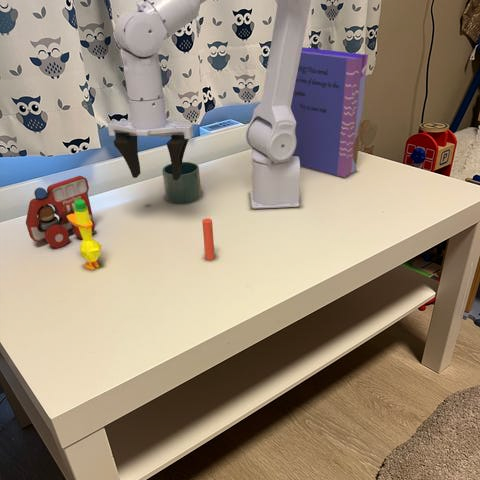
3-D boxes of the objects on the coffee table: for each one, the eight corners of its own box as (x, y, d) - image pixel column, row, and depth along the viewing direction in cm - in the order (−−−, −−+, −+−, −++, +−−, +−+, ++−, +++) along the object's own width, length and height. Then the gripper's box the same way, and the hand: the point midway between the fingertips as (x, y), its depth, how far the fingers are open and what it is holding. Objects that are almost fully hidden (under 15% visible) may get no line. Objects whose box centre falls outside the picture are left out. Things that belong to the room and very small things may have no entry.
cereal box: (355, 171, 118) (368, 53, 103) (344, 178, 115) (355, 58, 100) (292, 155, 127) (296, 45, 112) (281, 161, 124) (282, 49, 110)
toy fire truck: (26, 241, 96) (9, 187, 90) (87, 220, 103) (75, 168, 96) (41, 255, 92) (24, 199, 86) (104, 232, 98) (93, 179, 92)
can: (201, 188, 113) (199, 161, 109) (200, 202, 107) (198, 174, 104) (167, 189, 113) (164, 162, 109) (164, 204, 107) (160, 176, 104)
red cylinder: (214, 255, 90) (212, 218, 86) (214, 260, 89) (211, 222, 85) (205, 255, 90) (202, 218, 86) (205, 260, 89) (202, 222, 85)
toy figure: (71, 263, 89) (54, 197, 82) (88, 255, 91) (73, 190, 84) (95, 277, 86) (79, 209, 78) (112, 268, 88) (98, 201, 81)
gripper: (94, 102, 84) (109, 183, 92) (180, 104, 81) (189, 188, 89) (112, 90, 89) (125, 168, 97) (194, 92, 86) (200, 172, 94)
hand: (156, 176), depth 93 cm, fingers open, 7 cm apart
